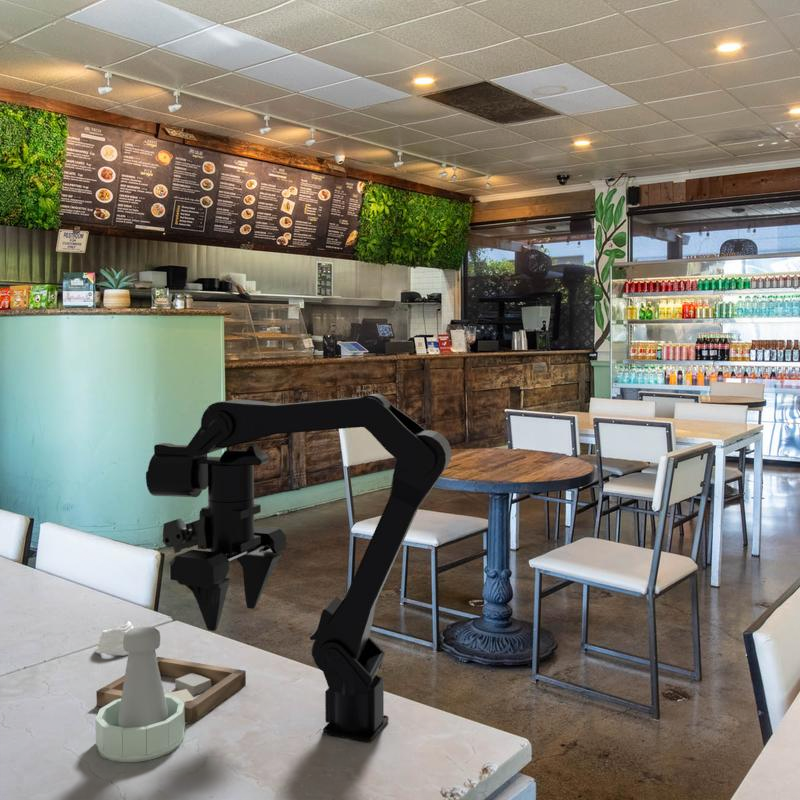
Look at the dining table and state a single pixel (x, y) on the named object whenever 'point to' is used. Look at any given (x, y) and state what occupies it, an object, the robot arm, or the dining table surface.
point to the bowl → (139, 734)
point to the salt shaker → (142, 680)
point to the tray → (221, 676)
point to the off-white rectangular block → (193, 683)
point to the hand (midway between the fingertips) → (232, 618)
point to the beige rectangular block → (182, 695)
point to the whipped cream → (114, 640)
